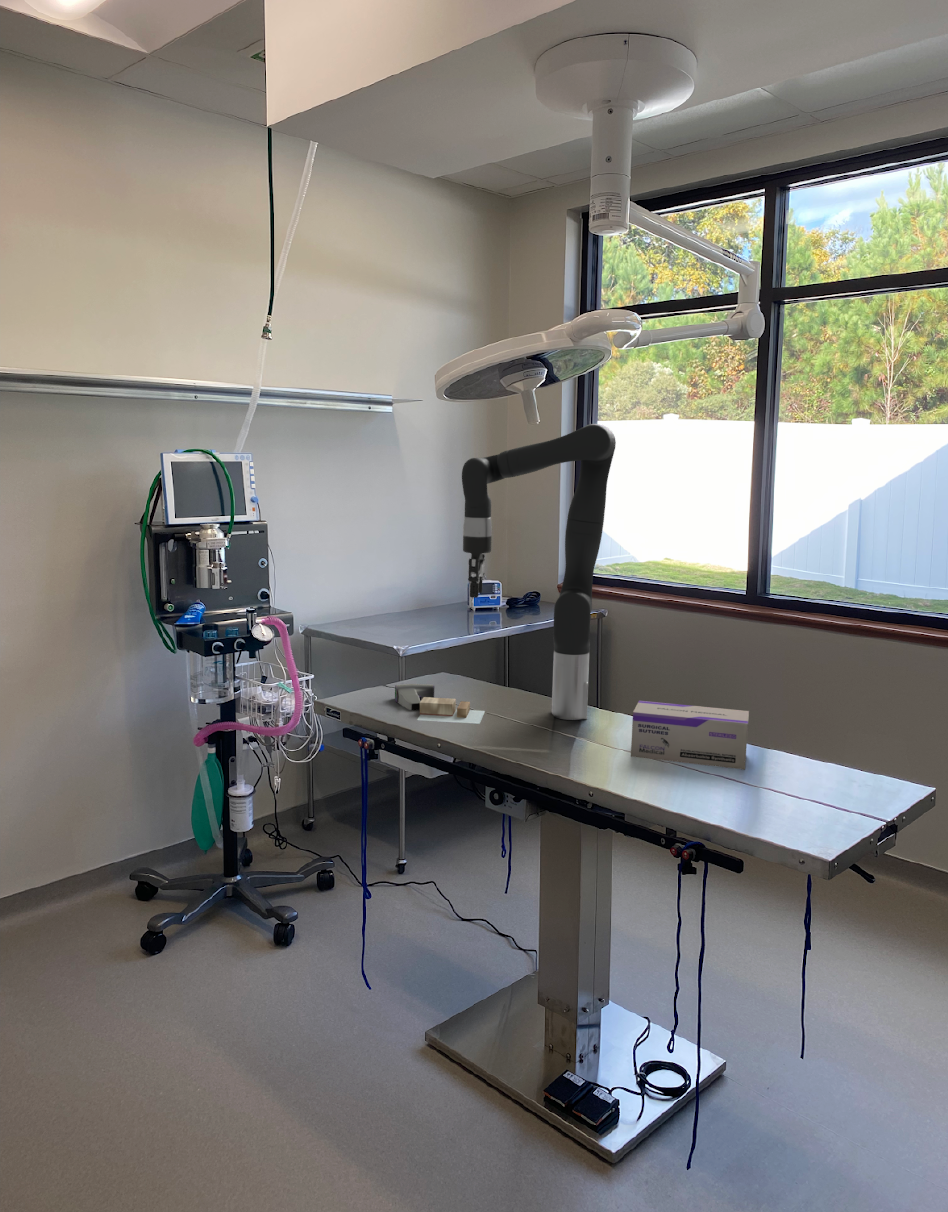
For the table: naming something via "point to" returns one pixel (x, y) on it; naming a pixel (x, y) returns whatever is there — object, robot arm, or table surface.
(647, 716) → the surgical sutures box
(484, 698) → the table surface
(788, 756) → the table surface
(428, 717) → the silicone mat
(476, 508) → the robot arm
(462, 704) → the rail
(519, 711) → the table surface
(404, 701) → the infrared thermometer
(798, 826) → the table surface
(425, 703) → the wooden block
